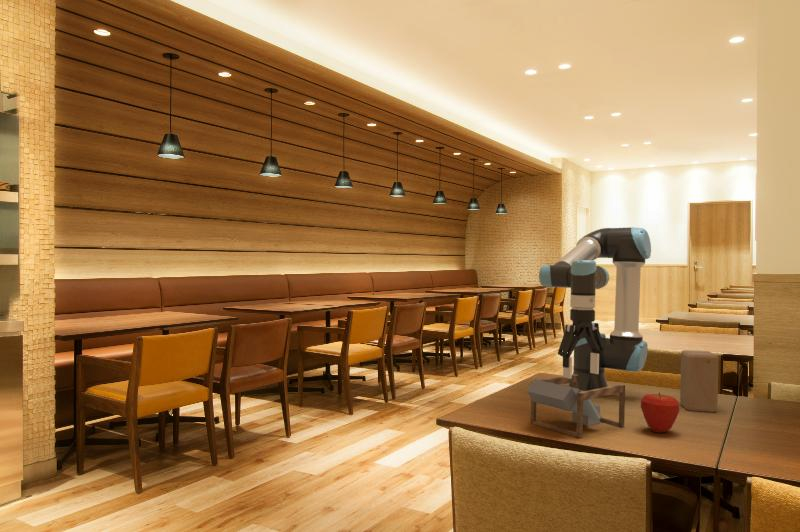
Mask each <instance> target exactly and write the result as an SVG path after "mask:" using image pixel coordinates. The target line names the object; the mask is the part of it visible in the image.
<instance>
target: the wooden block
mask: <svg viewBox="0 0 800 532" xmlns="http://www.w3.org/2000/svg"><path fill="white" fill-rule="evenodd" d="M680 357H681V358H680V395H679V404H680V406H681V405H682V407H684V408H685V409H686V410H687V411H690V412H692V411H693V412H703V413H706V412H707V413H715V412H717V411H718V401H719V400H718V399H719V398H718V395H719V393H718V392H719V390H718V389H719V360H720V359H719V356H718V355H717V354H714V353H713V352H710V351H706V350H691V349H690V350H686V349H684V350H682V351H681V353H680Z"/></svg>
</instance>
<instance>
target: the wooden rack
mask: <svg viewBox="0 0 800 532" xmlns="http://www.w3.org/2000/svg"><path fill="white" fill-rule="evenodd" d="M540 380H541V381H546V382H551V383H555V384H559V385H566V384H569V383H573V388H577V389H578V375H576V374H575V375H573V374H572V378H571V379H569V378H565V377H563V376H558V377H557V376H556V377H551V378H550V377H549V378H545V379H540ZM533 381H534V380H533ZM533 381H531V383H530V385H531V384H532V382H533ZM616 394H619V395H618V398H619V399H618V404H619V405H618V421H616V420H613V419H609V418H605V417H603V416H601V418H600V423H601V422H602V423H605V424H609V425H613V426H616V427H619V428H624V427H625V409H626V404H625V403H626V398H625V397H626V384H623V383H620V384H616V385H609V386H608V387H604V388H599V389H593V390H588V391H583V392H578V393H577V423H576V431H572V430H569V429H566V428H563V427H560V426H557V425H555V424H554V425H553V424H551V423H547V422H544V421H540V420H537V403H536V402H533V400H532V399H531V398H530V424H532V425H536V426H539V427H542V428H545V429H547V430H548V429H549V430H552V431H556V432H559V433H562V434H565V435H568V436H571V437H575V438H577V439H583V434H584V433H583V431H584V430H583V429H584V425H583V400H587V399H591V400H593V399H597V398H602V396H603V397H607V396H611V395H616ZM572 413H573V412H571V414H572Z"/></svg>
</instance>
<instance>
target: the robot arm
mask: <svg viewBox="0 0 800 532" xmlns="http://www.w3.org/2000/svg"><path fill="white" fill-rule="evenodd" d="M651 253H652V244H651V238H650V235H649V233H648V231H647V230H646V229H645V228H644V227H635V226H633V227H632V226H631V227H605V228H604V227H602V228H599V229H596V230H593V231H591V232H589V233H587V234H586V235H584V236H582V237H581V238H580V239H578V241H577V243H576V244H575V247H573V248H572V249H571V250H570V251H568V252H567V253H566V254H565V255H563V256H562V257H561V258H559V260H557V261H556V262H555V263H554V264H544V265H541V267H540V268H539V272H538V280H539V283H540V285H541V286H543V287H548V288H566V289H568V288H570V296H569V297H570V299H569V301H570V302H569V306H570V309H569V313H570V314H569V319H570V321H571V322H572V324H565V326H564V327H565V328H564V334H563V336H562V339H561V342H560V345H559V349H558V352H557V355H558V356H560V357H562V370H563V371H562V377H565V378H569V379H571V378H572V375H575V374H576V375H578V389H580V390H581V391H588V390H593V389H599V388H604V387H609V386H608V382H607V378H606V375H605V371H606V370H605V369H609V370H617V371H625V372H627V373H628V372H635V373H637V372H640V371H641V370H642V369H643V368H644V367H645V363H646V360H647V356H648V350H649V349H648V348H649V347H648V342H646V341H645V340H643V338H644V337H643V335H642V334H641V333H640V331H639V328H640V327H639V326H640V325H639V323H640V297H641V273H642V272H641V271H642V267H644V265H645V264H646V260H648V259H650V258H651V255H652V254H651ZM597 259H612V263H613V265H614V266H615V268H616V271H615V274H616V275H615V278H616V279H615V296H614V297H615V298H614V299H615V300H614V301H615V304H614V328H613V331H611V332H610V334H609V337H606V334H605V333H601V332H600V327H599V326H600V325H599V324H600V323H598V322H595V321H596V311H595V308H596V290H600V289H603V288H604V287H606V286H607V285H608V284H609V281H610V274H609V271H608V270H607V269H606V268H605V267H603V266H600V265H597V262H596V260H597ZM572 353H573V357H572V356H571V355H572ZM568 387H572V388H573V383H568ZM602 397H604V396H602ZM602 397H601V398H602Z"/></svg>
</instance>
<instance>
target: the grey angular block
mask: <svg viewBox="0 0 800 532" xmlns="http://www.w3.org/2000/svg"><path fill="white" fill-rule="evenodd" d="M541 380H542V379H537V378H535V379H533V382H532V381H531V382H532V384H531V383H530V384H529V386H528V388H527V389H526V393H527V395H529V397H530V400H531V399H532V400H533V402H536V404H540V405H544V406H548V407H551V408H555V409H558V410H562V411H566V412H569V413H570V412H571V413H572V412H574V413H577V393H578V392H583V391H581V390H580V389H577V388H572V387H569V385H565V384H561V385H559V384H555V383H551V382H546V381H541ZM593 403H594V402H593V401H592V399H587V400H583V415H585V416H589V417H592V418H596V419H600V418H601V417H602V416H601V413H600V414H599V413H598V411H597V409H596V408H595V406H594V404H595V403H594V404H593Z"/></svg>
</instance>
